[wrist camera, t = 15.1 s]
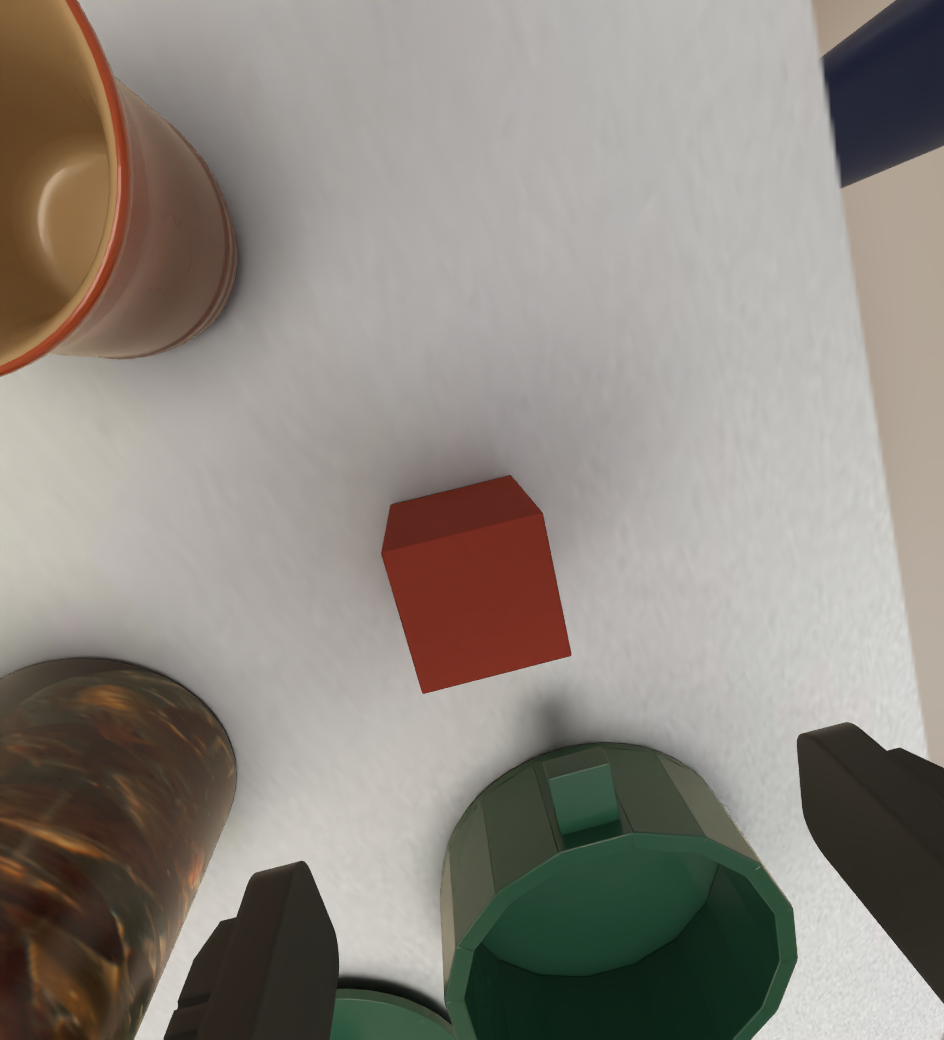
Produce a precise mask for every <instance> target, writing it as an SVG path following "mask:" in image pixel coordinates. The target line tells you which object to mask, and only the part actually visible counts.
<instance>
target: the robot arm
mask: <svg viewBox="0 0 944 1040" xmlns="http://www.w3.org/2000/svg"><path fill="white" fill-rule="evenodd" d="M797 752H798V764H799V776H800V787H801V799H802V809H803V814H804V818H805V821H806V824H807V827H808V829H809V831H810V833H811V835H812V837H813V839H814V841H815V843H816V844H817V846H818V848H819V849H820V851H821V852H822V853H823V855H824V856H825V857H826V859H827V860H828V861H829V862H830V863H831V865H832V866H833V867H834V868H835V870H836V871H837V872H838V873H839V875H840V876H841V877H842V878H843V880H844V881H845V882H846V883H847V884H848V886H849V887H850V888H851V889H852V891H853V892H854V893H855V894H856V896H857V897H858V898H859V899H860V901H861V902H862V903H863V904H864V906H865V907H866V908H867V909H868V910H869V912H870V913H871V914H872V915H873V917H874V918H875V919H876V920H877V922H878V923H879V924H880V925H881V927H882V928H883V929H884V930H885V932H886V933H887V934H888V935H889V936H890V938H891V939H892V940H893V941H894V943H895V944H896V945H897V946H898V948H899V949H900V950H901V951H902V953H903V954H904V955H905V956H906V957H907V959H908V960H909V961H910V962H911V964H912V965H913V966H914V967H915V969H916V970H917V971H918V972H919V974H920V975H921V976H922V977H923V979H924V980H925V981H926V982H927V983H928V985H929V986H930V987H931V988H932V990H933V991H934V992H935V993H936V995H937V996H938V997H939V998H940V1000H941V1001H942V1002H943V1003H944V768H943V767H940V766H938V765H936V764H934V763H932V762H930V761H928V760H925V759H923V758H921V757H919V756H917V755H915V754H913V753H910V752H908V751H906V750H904V749H902V748H896V749H892V750H888V751H886V750H885V749H884V748H883V747H882V746H880V745H879V744H878V743H877V742H876V741H874V740H873V739H872V738H871V737H870V736H868V735H867V734H866V733H865V732H864V731H863V730H861V729H860V728H859V727H857V726H856V725H854V724H852V723H849V722H845V723H841V724H837V725H834V726H830V727H826V728H822V729H818V730H814V731H810V732H806V733H803V734H800V735H799V736H798V739H797ZM338 975H339V953H338V944H337V938H336V934H335V930H334V928H333V925H332V923H331V920H330V918H329V915H328V913H327V910H326V908H325V905H324V903H323V900H322V898H321V896H320V893H319V891H318V888H317V886H316V883H315V881H314V878H313V876H312V873H311V871H310V869H309V867H308V865H307V864H306V863H305V862H304V861H299V862H295V863H291V864H288V865H284V866H280V867H276V868H272V869H268V870H264V871H260V872H257V873H255V874H253V876H252V877H251V878H250V880H249V882H248V885H247V887H246V890H245V893H244V896H243V899H242V902H241V905H240V908H239V911H238V914H237V917H235V918H231V919H228V920H224V921H221V922H220V923H219V924H218V926H217V927H216V929H215V930H214V932H213V933H212V934H211V936H210V937H209V939H208V940H207V942H206V943H205V944H204V946H203V947H202V949H201V950H200V952H199V953H198V954H197V956H196V957H195V959H194V960H193V963H192V966H191V968H190V971H189V973H188V976H187V979H186V981H185V984H184V986H183V989H182V992H181V994H180V997H179V999H178V1009H177V1010H174V1012H173V1015H172V1018H171V1020H170V1023H169V1025H168V1028H167V1031H166V1033H165V1036H164V1040H330V1034H331V1027H332V1020H333V1013H334V1005H335V998H336V991H337V984H338Z"/></svg>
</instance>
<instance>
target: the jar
mask: <svg viewBox="0 0 944 1040" xmlns="http://www.w3.org/2000/svg"><path fill="white" fill-rule="evenodd" d="M235 788H236V765H235V758H234V754H233V751H232V747H231V745H230V742H229V740H228V738H227V736H226V734H225V732H224V730H223V728H222V727H221V725H220V724H219V722H218V720H217V719H216V718H215V717H214V715H213V714H212V713H211V712H210V711H209V710H208V708H207V707H206V706H205V705H204V704H203V703H202V702H201V701H199V700H198V699H197V698H196V697H195V696H194V695H192V694H191V693H190V692H188V691H187V690H186V689H184V688H183V687H181V686H180V685H178V684H176V683H175V682H173V681H171V680H169V679H167V678H165V677H163V676H161V675H159V674H157V673H154V672H152V671H149V670H146V669H144V668H141V667H138V666H134V665H130V664H126V663H121V662H116V661H110V660H102V659H65V660H57V661H51V662H45V663H41V664H37V665H33V666H30V667H27V668H24V669H21V670H19V671H16V672H14V673H12V674H9V675H7V676H5V677H4V678H2V679H0V1040H134V1038H135V1036H136V1034H137V1031H138V1029H139V1027H140V1025H141V1022H142V1020H143V1018H144V1015H145V1013H146V1011H147V1008H148V1006H149V1004H150V1001H151V999H152V997H153V994H154V992H155V990H156V987H157V985H158V983H159V980H160V978H161V976H162V973H163V971H164V969H165V966H166V964H167V961H168V959H169V957H170V954H171V952H172V950H173V947H174V945H175V943H176V940H177V938H178V936H179V933H180V931H181V928H182V926H183V924H184V921H185V919H186V917H187V914H188V912H189V909H190V907H191V905H192V902H193V900H194V897H195V895H196V893H197V890H198V888H199V886H200V883H201V881H202V878H203V876H204V873H205V871H206V869H207V866H208V864H209V861H210V859H211V857H212V854H213V852H214V849H215V847H216V844H217V842H218V839H219V837H220V834H221V832H222V830H223V827H224V825H225V822H226V820H227V817H228V814H229V812H230V809H231V806H232V802H233V799H234V794H235Z"/></svg>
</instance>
